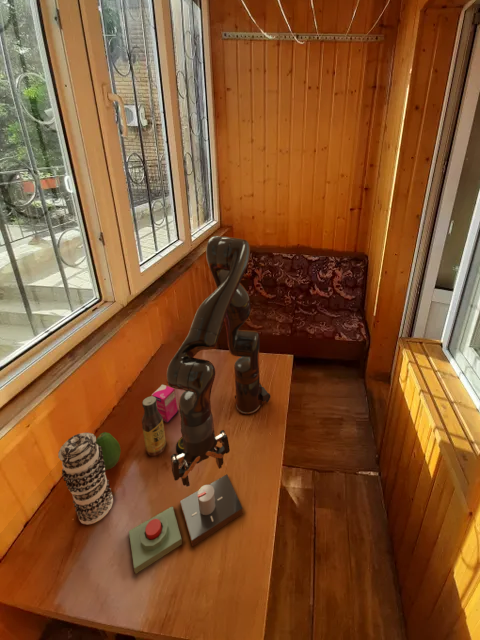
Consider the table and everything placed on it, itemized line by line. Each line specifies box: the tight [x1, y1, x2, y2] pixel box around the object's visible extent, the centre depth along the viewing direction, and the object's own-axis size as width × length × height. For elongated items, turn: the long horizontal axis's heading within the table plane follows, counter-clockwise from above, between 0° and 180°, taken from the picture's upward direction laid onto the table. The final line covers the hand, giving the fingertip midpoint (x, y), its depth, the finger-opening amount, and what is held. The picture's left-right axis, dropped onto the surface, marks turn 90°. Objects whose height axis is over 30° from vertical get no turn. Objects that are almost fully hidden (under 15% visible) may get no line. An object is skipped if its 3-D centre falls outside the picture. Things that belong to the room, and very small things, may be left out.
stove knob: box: [197, 484, 216, 515], centre depth 84 cm, size 4×4×6 cm
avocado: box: [96, 431, 122, 471], centre depth 96 cm, size 8×8×12 cm
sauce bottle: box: [141, 395, 167, 457], centre depth 101 cm, size 6×6×20 cm
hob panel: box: [179, 473, 244, 548], centre depth 86 cm, size 14×11×3 cm
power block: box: [128, 505, 183, 575], centre depth 79 cm, size 11×9×4 cm
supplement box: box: [151, 384, 179, 424], centre depth 115 cm, size 6×6×12 cm
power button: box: [145, 519, 162, 540], centre depth 78 cm, size 4×4×2 cm
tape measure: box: [175, 436, 184, 456], centre depth 103 cm, size 7×7×4 cm
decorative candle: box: [57, 432, 114, 525], centre depth 83 cm, size 9×9×25 cm
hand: (203, 474), depth 81 cm, fingers open, 8 cm apart
